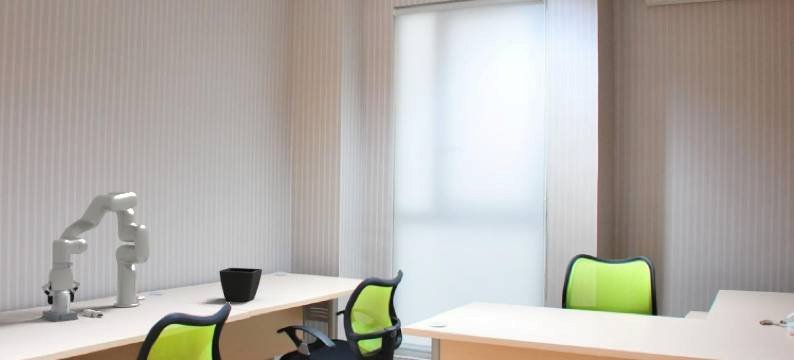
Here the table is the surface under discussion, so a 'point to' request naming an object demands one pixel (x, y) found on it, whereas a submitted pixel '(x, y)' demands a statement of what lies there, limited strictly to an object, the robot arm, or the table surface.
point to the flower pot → (240, 283)
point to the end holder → (59, 316)
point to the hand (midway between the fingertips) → (60, 302)
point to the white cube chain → (93, 313)
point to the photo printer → (61, 302)
